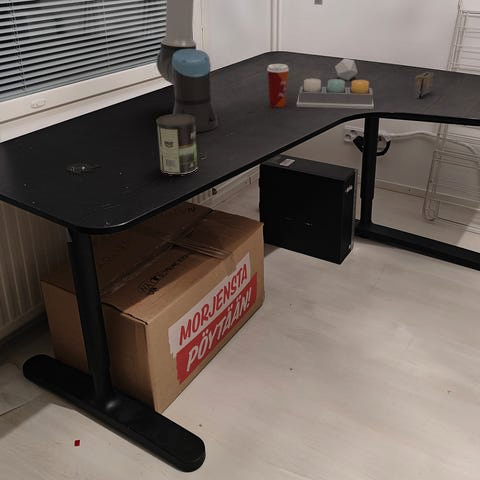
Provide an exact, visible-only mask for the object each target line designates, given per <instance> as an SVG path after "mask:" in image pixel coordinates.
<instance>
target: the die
mask: <svg viewBox="0 0 480 480" xmlns="http://www.w3.org/2000/svg"><path fill="white" fill-rule="evenodd" d="M334 68H335V72H336V74H337V75H336V76H337V79H340V80H344V81H347V82H348V81H350V80H351V79H352V78H353V77H354V76H355V75H357V74H358V69H357V65H356V63H355V60H354V59H349V58H343V59H342V60H341V61H340V62H338V63H337V64H336V65H335V66H334Z"/></svg>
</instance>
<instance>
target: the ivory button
mask: <svg viewBox="0 0 480 480" xmlns="http://www.w3.org/2000/svg"><path fill="white" fill-rule="evenodd" d="M303 86H304V92H320V89H321V87H322V80H321V79H318V78H305V79H304V81H303Z"/></svg>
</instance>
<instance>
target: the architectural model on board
mask: <svg viewBox="0 0 480 480" xmlns="http://www.w3.org/2000/svg"><path fill="white" fill-rule="evenodd" d="M433 78H434V72H428V71H426V72H424V73H422V74H419V75H416V76H415V78H414V79H413V80H414V82H413V90H412V96H420V97H421V95H422V94H424V93H425V92H427V91H429V89H431V90H432V87H433ZM420 91H421V94H420Z"/></svg>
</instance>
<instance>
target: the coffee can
mask: <svg viewBox="0 0 480 480" xmlns="http://www.w3.org/2000/svg"><path fill="white" fill-rule="evenodd" d="M155 122H156V124H157V136H158V137H157V138H158V149H159V159H160V161H159V162H160V171H161V170H162V171H163V172H164V173H168V174H187V173H191V172H193V171H195V170H196V169H197V170H198V168H199V167H197V166H198V159H197V158H198V157H197V139H196V138H197V136H196V135H197V133H195V117H193V116H191V115H187V114H173V113H171V114H166V115H162V116H160V117H158V118H157V119H156V121H155ZM197 170H196V171H197ZM162 171H161V172H162ZM196 171H195V172H196ZM163 172H162V173H163ZM164 173H163V174H164ZM193 173H194V172H193ZM191 174H192V173H191Z"/></svg>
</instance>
